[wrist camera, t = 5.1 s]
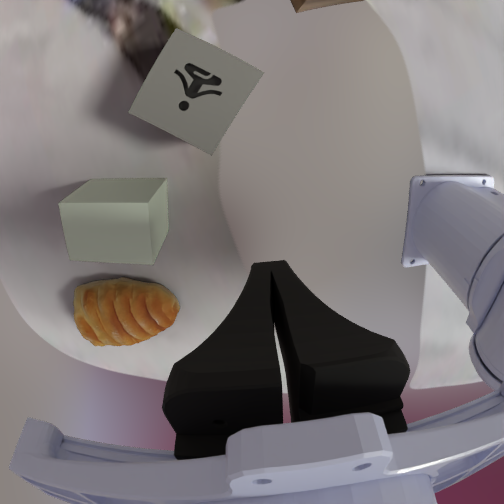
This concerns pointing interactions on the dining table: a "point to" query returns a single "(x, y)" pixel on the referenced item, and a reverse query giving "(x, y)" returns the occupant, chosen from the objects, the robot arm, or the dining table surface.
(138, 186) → the grey-green block
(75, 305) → the pastry
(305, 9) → the walnut block
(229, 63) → the grey symbol cube
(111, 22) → the dining table surface
